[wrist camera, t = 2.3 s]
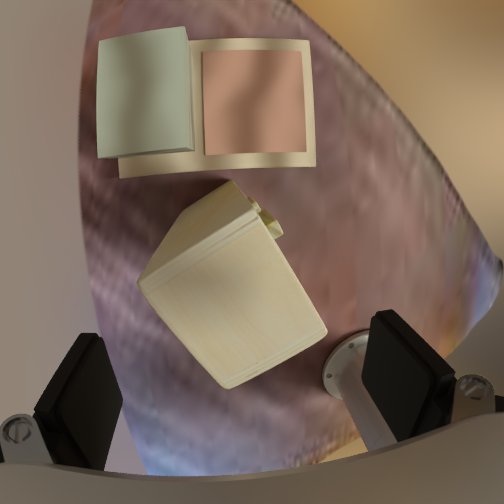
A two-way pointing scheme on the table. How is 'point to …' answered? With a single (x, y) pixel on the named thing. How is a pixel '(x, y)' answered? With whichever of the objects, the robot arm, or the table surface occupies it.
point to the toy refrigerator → (230, 288)
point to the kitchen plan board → (203, 103)
